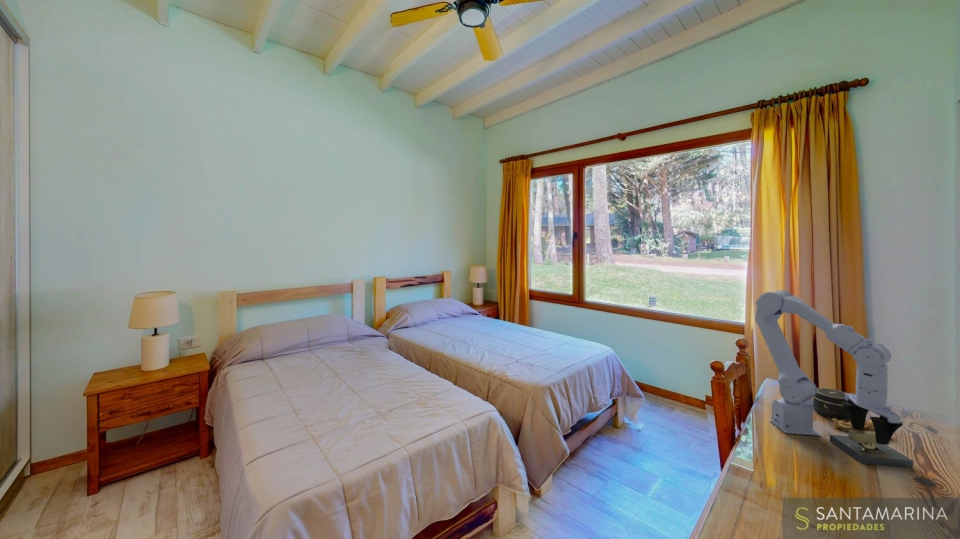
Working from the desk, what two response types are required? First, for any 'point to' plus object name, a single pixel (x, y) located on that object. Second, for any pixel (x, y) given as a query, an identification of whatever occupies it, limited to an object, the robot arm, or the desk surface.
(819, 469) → the desk surface
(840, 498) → the desk surface
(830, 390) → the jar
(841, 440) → the key plate
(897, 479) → the desk surface
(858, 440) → the t key
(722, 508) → the desk surface
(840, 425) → the figurine
